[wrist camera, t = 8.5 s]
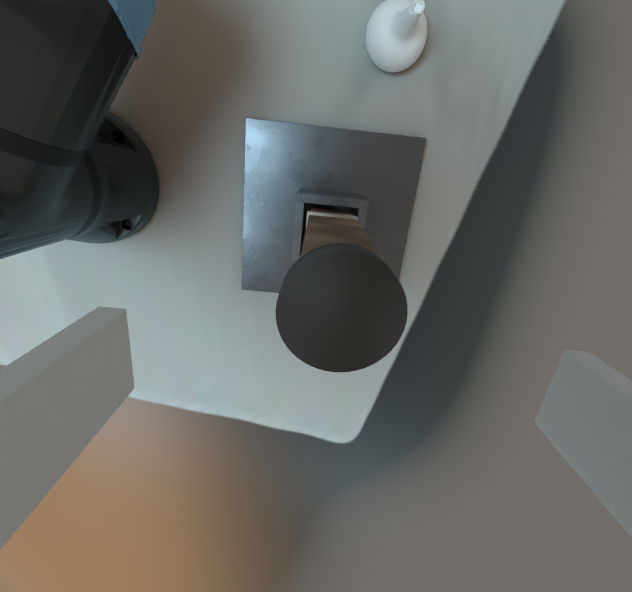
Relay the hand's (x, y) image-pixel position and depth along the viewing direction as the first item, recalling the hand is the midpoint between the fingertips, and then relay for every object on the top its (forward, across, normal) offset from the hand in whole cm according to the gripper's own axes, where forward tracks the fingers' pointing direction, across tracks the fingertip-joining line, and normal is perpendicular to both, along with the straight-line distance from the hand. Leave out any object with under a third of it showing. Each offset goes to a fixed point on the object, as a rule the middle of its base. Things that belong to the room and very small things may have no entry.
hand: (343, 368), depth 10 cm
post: (+26, 0, 0) cm, 26 cm away
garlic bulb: (+34, +5, +19) cm, 39 cm away
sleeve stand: (+34, 0, 0) cm, 34 cm away
